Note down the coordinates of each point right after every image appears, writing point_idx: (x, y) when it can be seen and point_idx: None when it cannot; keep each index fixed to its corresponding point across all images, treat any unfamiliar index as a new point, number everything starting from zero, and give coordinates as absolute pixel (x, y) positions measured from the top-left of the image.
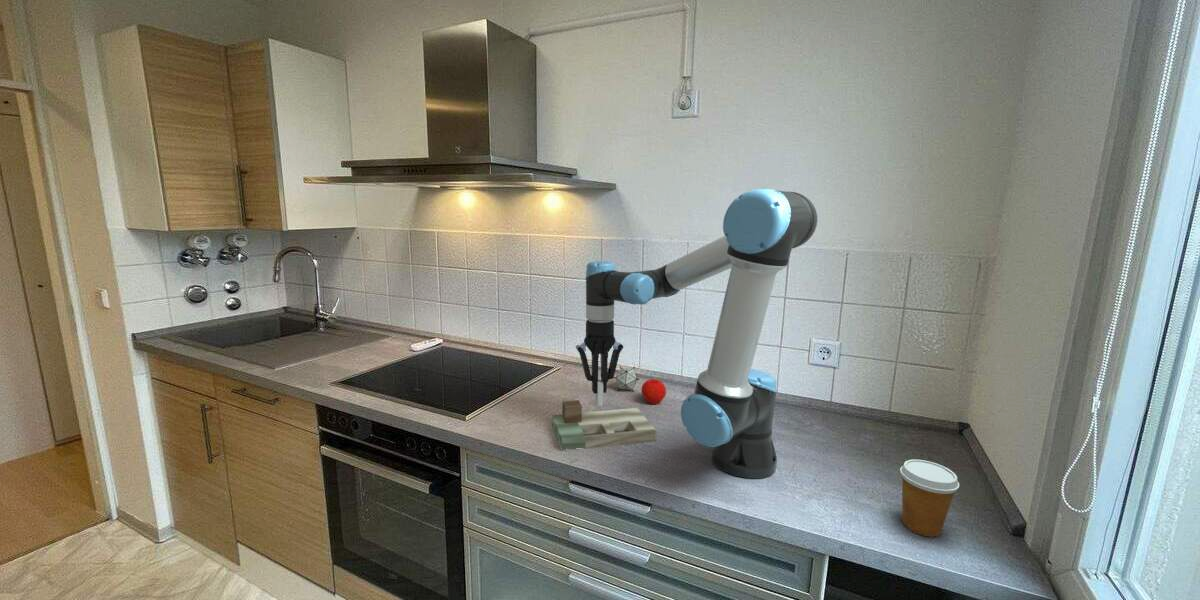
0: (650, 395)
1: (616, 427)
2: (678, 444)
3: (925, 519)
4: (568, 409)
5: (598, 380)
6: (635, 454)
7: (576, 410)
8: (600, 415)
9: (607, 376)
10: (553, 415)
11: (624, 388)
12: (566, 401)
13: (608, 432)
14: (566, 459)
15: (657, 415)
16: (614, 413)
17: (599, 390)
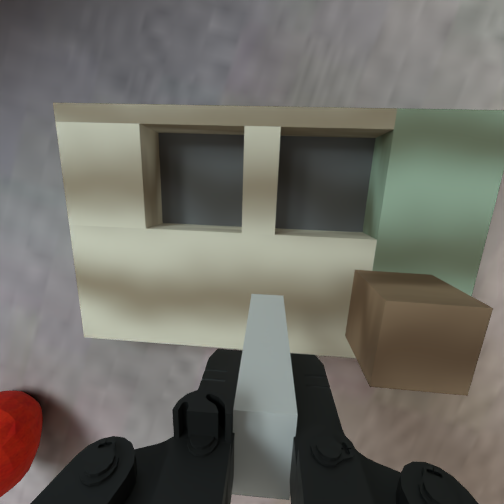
0: (3, 414)
1: (209, 227)
2: (8, 65)
3: None
4: (464, 300)
5: (266, 475)
6: (196, 18)
7: (408, 294)
8: None
9: (153, 493)
10: None
11: None
12: (444, 387)
13: (272, 134)
14: (487, 42)
15: (34, 314)
16: (188, 313)
17: (276, 354)
